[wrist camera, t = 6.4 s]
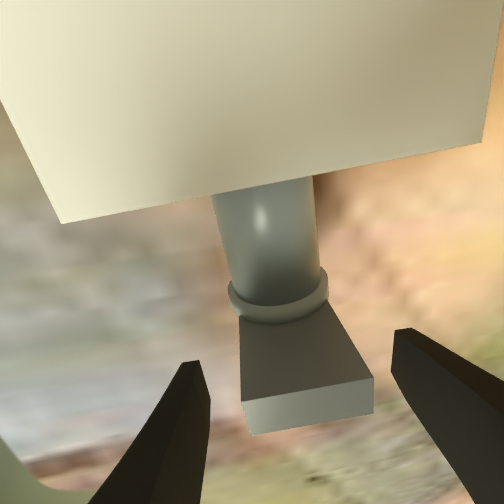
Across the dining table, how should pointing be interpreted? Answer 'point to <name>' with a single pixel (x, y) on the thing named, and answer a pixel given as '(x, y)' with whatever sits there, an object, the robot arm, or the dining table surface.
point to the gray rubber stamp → (287, 312)
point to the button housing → (235, 91)
